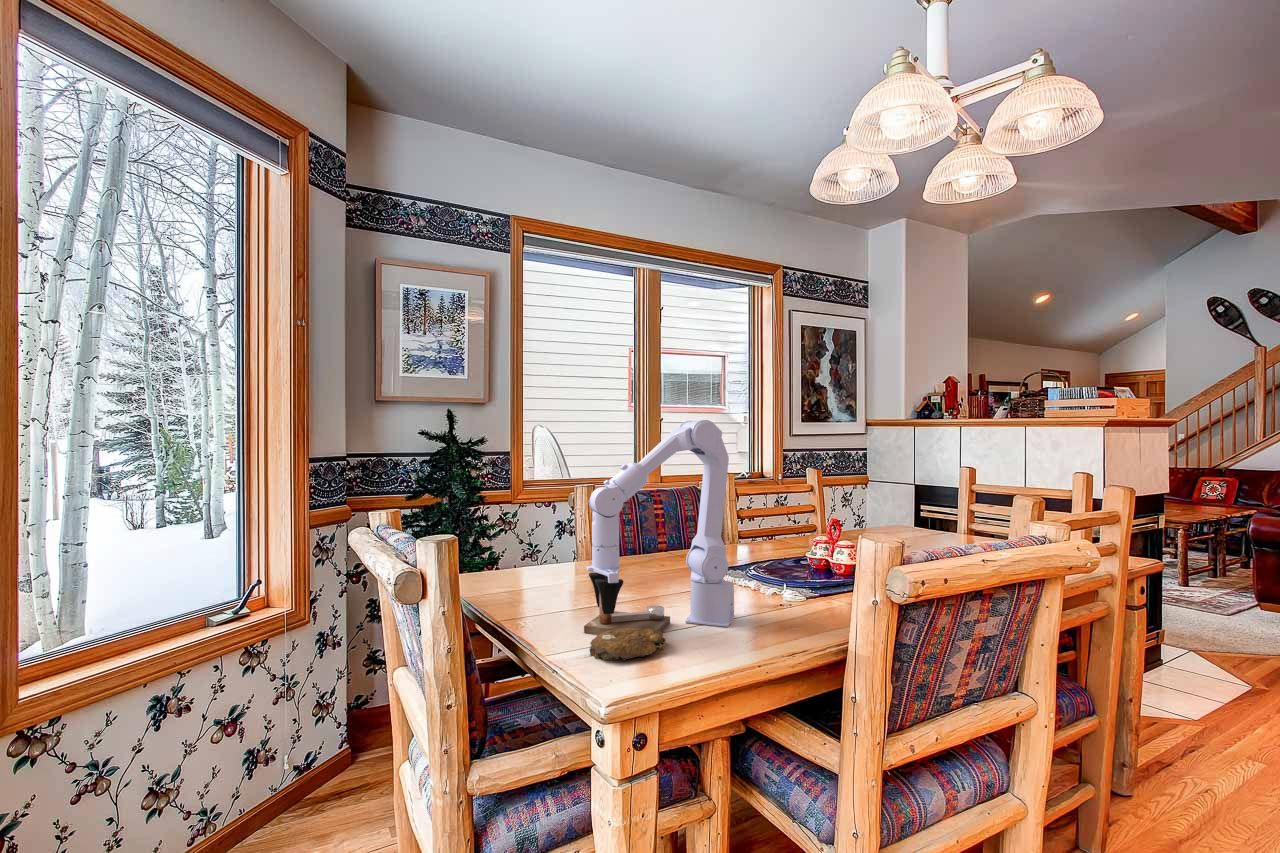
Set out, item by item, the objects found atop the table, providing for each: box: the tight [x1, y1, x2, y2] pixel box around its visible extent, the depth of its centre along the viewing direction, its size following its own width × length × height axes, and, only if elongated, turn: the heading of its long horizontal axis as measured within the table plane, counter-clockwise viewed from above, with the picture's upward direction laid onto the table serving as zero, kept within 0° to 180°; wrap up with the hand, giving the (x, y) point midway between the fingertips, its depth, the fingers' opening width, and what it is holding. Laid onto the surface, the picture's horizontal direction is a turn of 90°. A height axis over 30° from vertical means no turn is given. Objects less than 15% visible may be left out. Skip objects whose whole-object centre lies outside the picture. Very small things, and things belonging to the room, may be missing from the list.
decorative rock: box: [589, 628, 668, 661], centre depth 117 cm, size 11×4×15 cm
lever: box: [598, 593, 665, 624], centre depth 131 cm, size 14×4×6 cm, turn 106°
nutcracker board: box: [583, 610, 671, 636], centre depth 131 cm, size 15×12×2 cm
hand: (605, 610), depth 129 cm, fingers open, 5 cm apart
